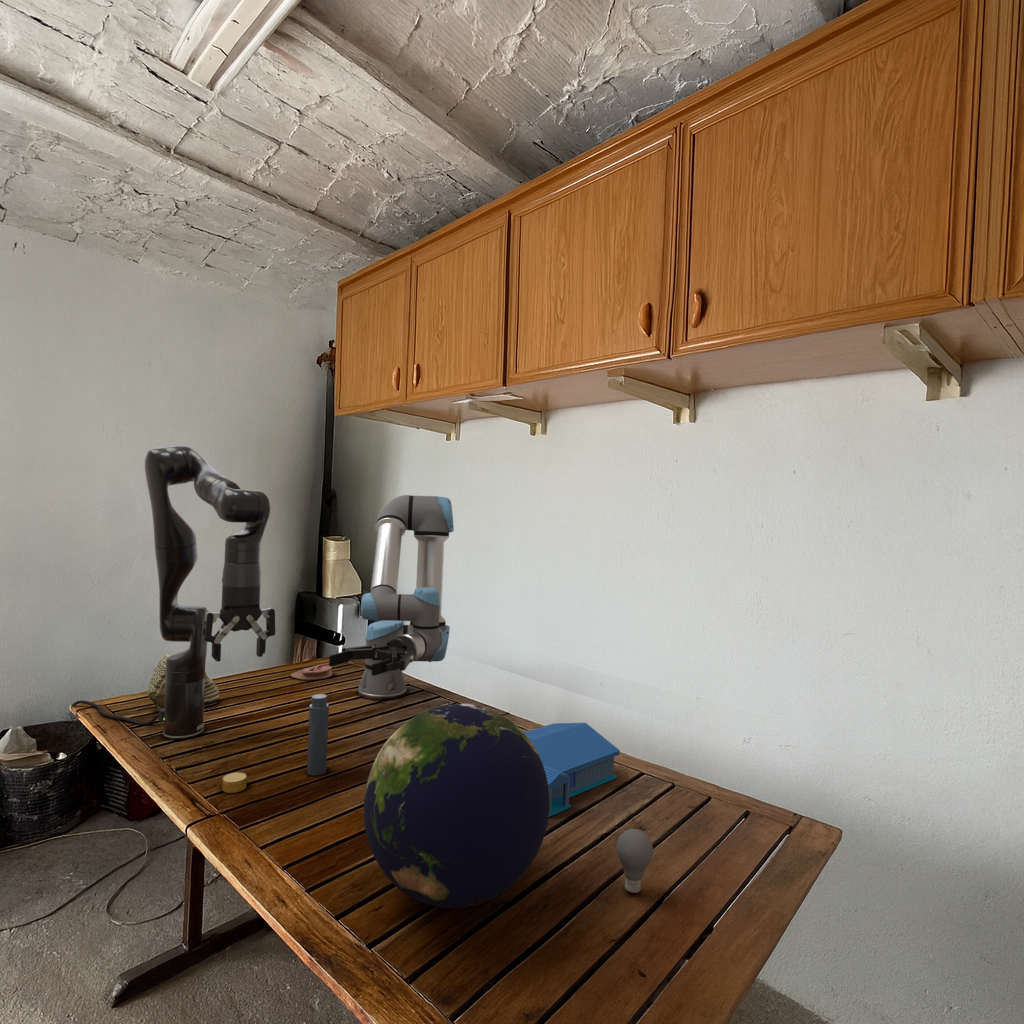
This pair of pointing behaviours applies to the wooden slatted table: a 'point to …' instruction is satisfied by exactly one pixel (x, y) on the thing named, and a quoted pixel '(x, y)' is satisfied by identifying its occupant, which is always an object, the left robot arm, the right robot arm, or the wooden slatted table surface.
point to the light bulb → (634, 857)
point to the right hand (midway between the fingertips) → (351, 665)
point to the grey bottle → (318, 735)
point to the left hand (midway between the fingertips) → (238, 658)
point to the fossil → (158, 687)
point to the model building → (572, 760)
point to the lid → (234, 782)
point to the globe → (456, 806)
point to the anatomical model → (314, 672)
